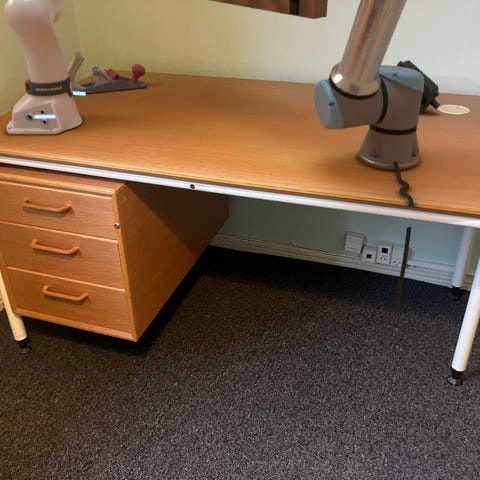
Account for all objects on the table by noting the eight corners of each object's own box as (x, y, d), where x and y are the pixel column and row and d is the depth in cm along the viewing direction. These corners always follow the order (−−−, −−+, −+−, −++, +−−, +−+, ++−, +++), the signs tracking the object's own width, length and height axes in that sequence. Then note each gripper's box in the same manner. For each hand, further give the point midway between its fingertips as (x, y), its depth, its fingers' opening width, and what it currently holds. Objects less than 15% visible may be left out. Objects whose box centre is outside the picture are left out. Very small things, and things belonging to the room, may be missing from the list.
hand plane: (62, 90, 197) (53, 48, 189) (145, 82, 205) (140, 41, 197) (62, 96, 191) (54, 53, 184) (148, 87, 199) (143, 45, 191)
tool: (378, 91, 179) (405, 54, 169) (421, 128, 175) (451, 93, 164) (370, 95, 176) (396, 58, 165) (413, 134, 171) (443, 98, 161)
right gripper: (319, -90, 138) (314, 7, 150) (267, -88, 128) (267, 15, 141) (341, -90, 133) (334, 10, 145) (289, -89, 123) (286, 18, 136)
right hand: (301, 12), depth 143 cm, fingers closed on bar, 5 cm apart
